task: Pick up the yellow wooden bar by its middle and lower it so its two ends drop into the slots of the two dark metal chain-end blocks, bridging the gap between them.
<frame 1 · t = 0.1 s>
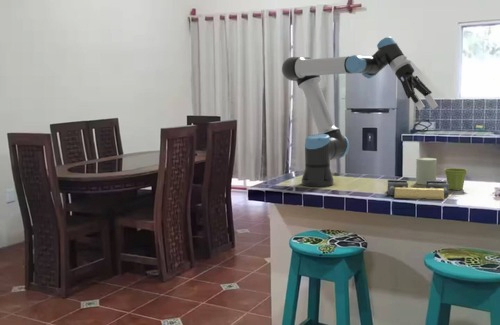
hand: (428, 108, 216), 36 cm above the table, tool tilted 35°, fingers open, 13 cm apart
can: (425, 183, 241), on the table
chain end right: (437, 194, 214), on the table
plant pot: (455, 189, 224), on the table
yellow wooden bar: (418, 198, 208), on the table
chain end left: (397, 193, 218), on the table
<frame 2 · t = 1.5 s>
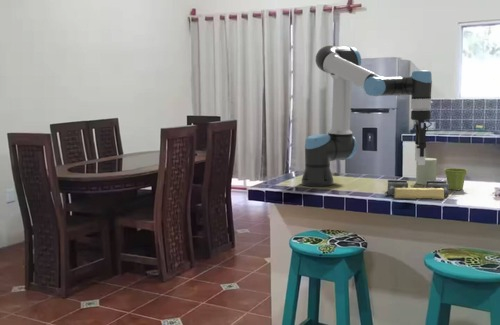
hand: (419, 162, 206), 14 cm above the table, tool pointing down, fingers open, 13 cm apart
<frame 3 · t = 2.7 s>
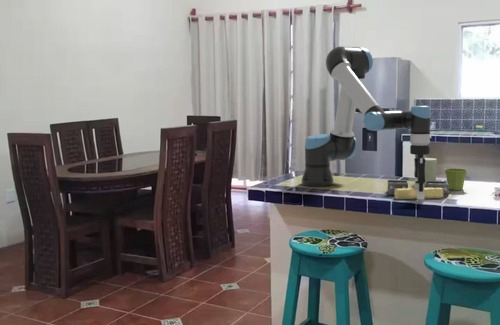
hand: (419, 196, 208), 1 cm above the table, tool pointing down, fingers open, 13 cm apart
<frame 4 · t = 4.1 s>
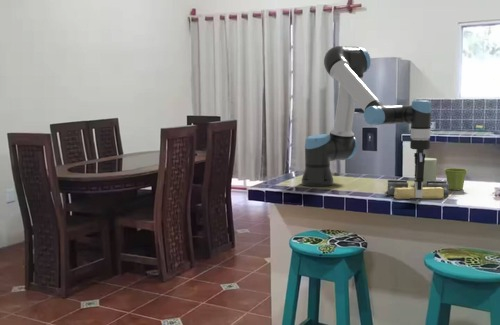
hand: (418, 196, 208), 1 cm above the table, tool pointing down, fingers closed on yellow wooden bar, 4 cm apart
yellow wooden bar: (418, 197, 208), on the table, touching gripper
everything else where it was.
when the fingers open (4 cm above the table, at t = 6.3 s): yellow wooden bar stays where it is, resting on chain end left, chain end right.
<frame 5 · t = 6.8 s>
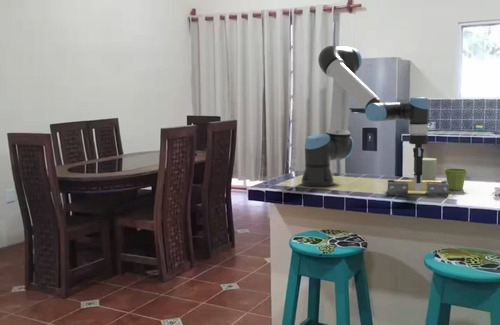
hand: (417, 189, 216), 2 cm above the table, tool pointing down, fingers open, 4 cm apart
yellow wooden bar: (417, 190, 216), point 1 cm above the table, touching chain end left, chain end right, gripper
everything else where it was.
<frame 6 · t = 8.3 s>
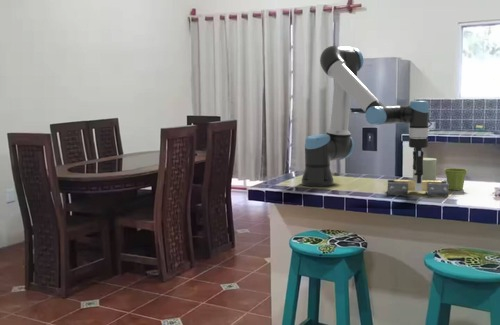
hand: (417, 187, 216), 2 cm above the table, tool pointing down, fingers open, 13 cm apart
yellow wooden bar: (417, 190, 216), point 1 cm above the table, touching chain end left, chain end right
everything else where it was.
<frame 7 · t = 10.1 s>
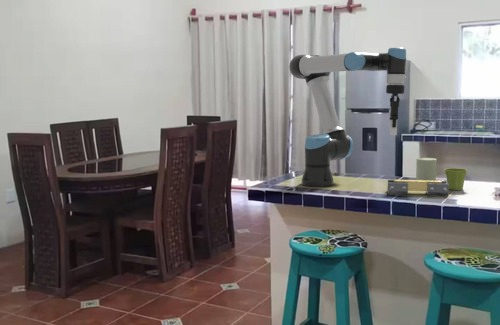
hand: (392, 133, 223), 25 cm above the table, tool pointing down, fingers open, 13 cm apart
nothing on the table moved.
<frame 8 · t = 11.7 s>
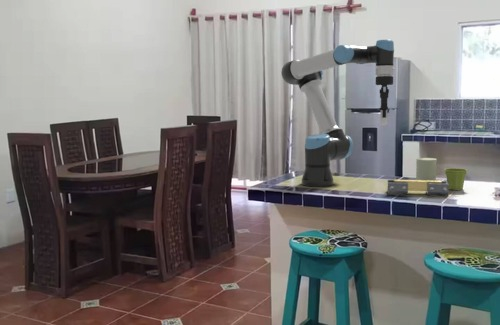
hand: (383, 124, 226), 29 cm above the table, tool pointing down, fingers open, 13 cm apart
nothing on the table moved.
at the end: yellow wooden bar 0.2 cm from the target spot, point 1.5 cm above the table; yellow wooden bar tilted 0°; the gripper is holding nothing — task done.
